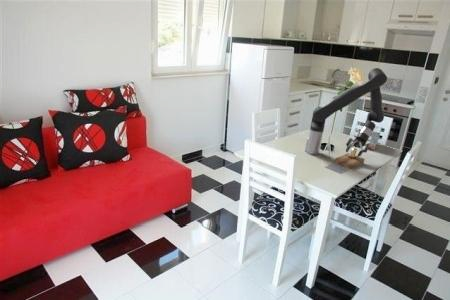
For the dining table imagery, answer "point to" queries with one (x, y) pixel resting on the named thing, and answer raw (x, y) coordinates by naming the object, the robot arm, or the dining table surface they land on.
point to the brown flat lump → (349, 161)
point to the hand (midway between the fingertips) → (352, 153)
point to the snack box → (374, 138)
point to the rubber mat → (336, 168)
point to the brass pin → (353, 153)
